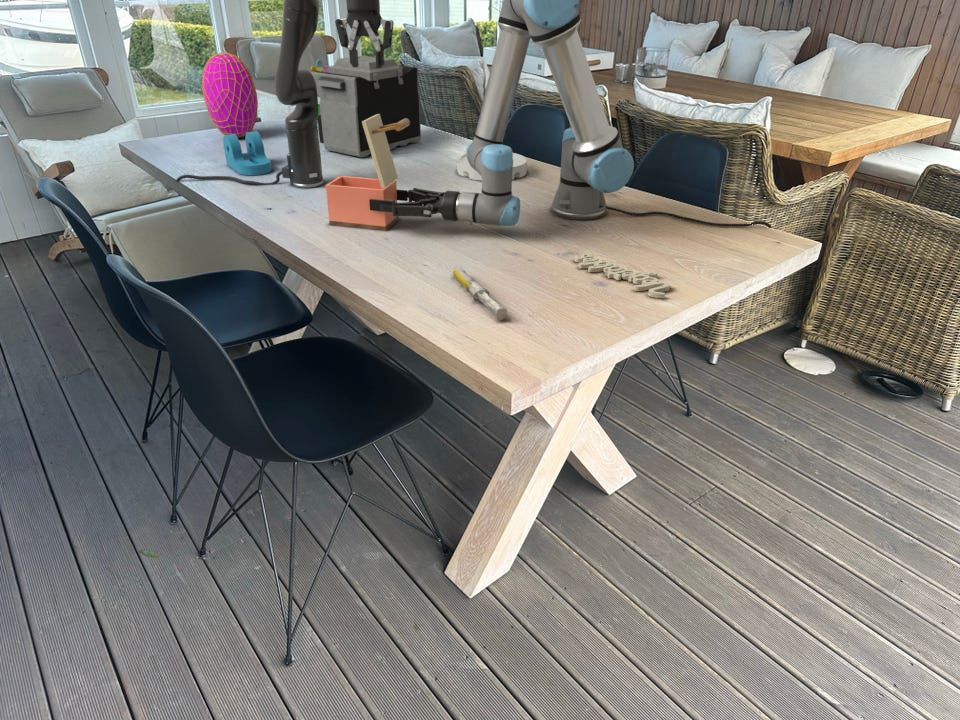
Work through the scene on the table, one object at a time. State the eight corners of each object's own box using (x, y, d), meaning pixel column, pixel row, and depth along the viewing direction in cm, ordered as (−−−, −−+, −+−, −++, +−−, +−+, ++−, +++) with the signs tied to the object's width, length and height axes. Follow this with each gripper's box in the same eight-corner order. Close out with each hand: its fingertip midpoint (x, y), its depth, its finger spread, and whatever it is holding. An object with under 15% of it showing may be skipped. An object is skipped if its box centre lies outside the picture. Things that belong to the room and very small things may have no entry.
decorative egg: (227, 145, 256) (212, 58, 241) (201, 136, 267) (185, 53, 252) (272, 137, 268) (260, 53, 253) (245, 129, 280) (233, 49, 264)
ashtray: (459, 161, 239) (459, 150, 237) (525, 163, 239) (526, 151, 237) (455, 180, 219) (455, 167, 217) (527, 181, 219) (528, 169, 217)
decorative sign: (686, 282, 150) (660, 295, 144) (686, 286, 150) (659, 300, 144) (592, 249, 166) (565, 259, 160) (592, 253, 167) (565, 263, 161)
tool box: (383, 133, 276) (378, 52, 261) (425, 141, 265) (422, 56, 250) (314, 150, 251) (304, 61, 235) (358, 160, 240) (350, 67, 224)
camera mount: (227, 164, 233) (221, 132, 227) (257, 160, 238) (252, 129, 233) (244, 176, 220) (239, 143, 215) (276, 172, 225) (271, 139, 220)
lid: (361, 121, 166) (395, 114, 163) (375, 114, 174) (408, 107, 171) (381, 188, 174) (414, 182, 171) (394, 178, 181) (425, 172, 178)
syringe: (449, 274, 155) (449, 263, 153) (465, 272, 156) (464, 260, 154) (490, 323, 135) (491, 310, 133) (508, 319, 136) (508, 307, 134)
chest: (329, 224, 183) (325, 184, 177) (343, 214, 190) (340, 175, 185) (385, 230, 179) (383, 190, 174) (398, 219, 187) (396, 180, 181)
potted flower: (317, 124, 290) (310, 59, 277) (312, 120, 296) (305, 57, 283) (338, 122, 294) (333, 58, 281) (333, 118, 300) (327, 56, 287)
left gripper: (397, -13, 157) (401, 67, 166) (339, -14, 160) (346, 64, 169) (385, -12, 151) (389, 71, 160) (325, -13, 154) (332, 68, 163)
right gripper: (447, 234, 168) (362, 226, 173) (470, 207, 187) (392, 200, 191) (446, 205, 165) (359, 197, 169) (470, 180, 183) (391, 173, 188)
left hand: (367, 67), depth 164 cm, fingers open, 5 cm apart
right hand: (377, 199), depth 180 cm, fingers closed on chest, 9 cm apart
